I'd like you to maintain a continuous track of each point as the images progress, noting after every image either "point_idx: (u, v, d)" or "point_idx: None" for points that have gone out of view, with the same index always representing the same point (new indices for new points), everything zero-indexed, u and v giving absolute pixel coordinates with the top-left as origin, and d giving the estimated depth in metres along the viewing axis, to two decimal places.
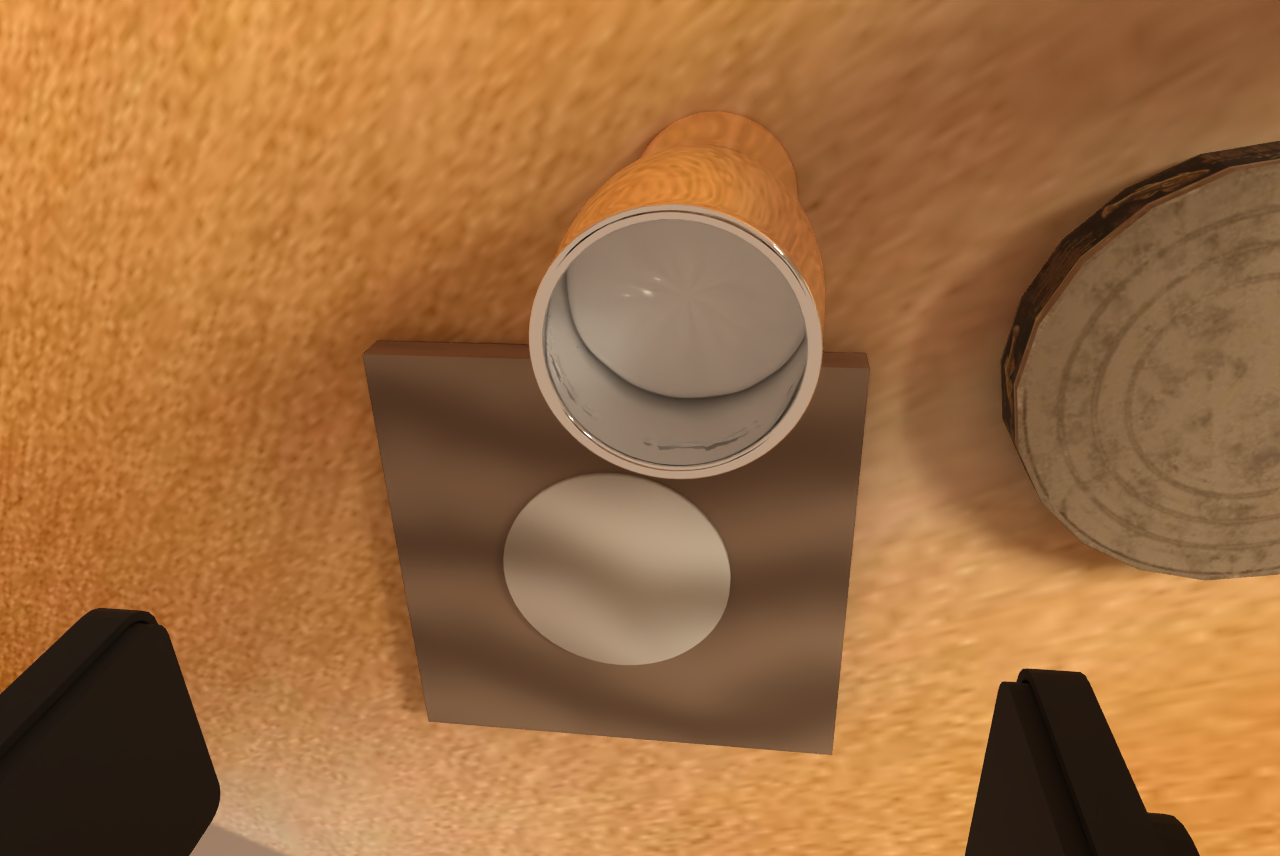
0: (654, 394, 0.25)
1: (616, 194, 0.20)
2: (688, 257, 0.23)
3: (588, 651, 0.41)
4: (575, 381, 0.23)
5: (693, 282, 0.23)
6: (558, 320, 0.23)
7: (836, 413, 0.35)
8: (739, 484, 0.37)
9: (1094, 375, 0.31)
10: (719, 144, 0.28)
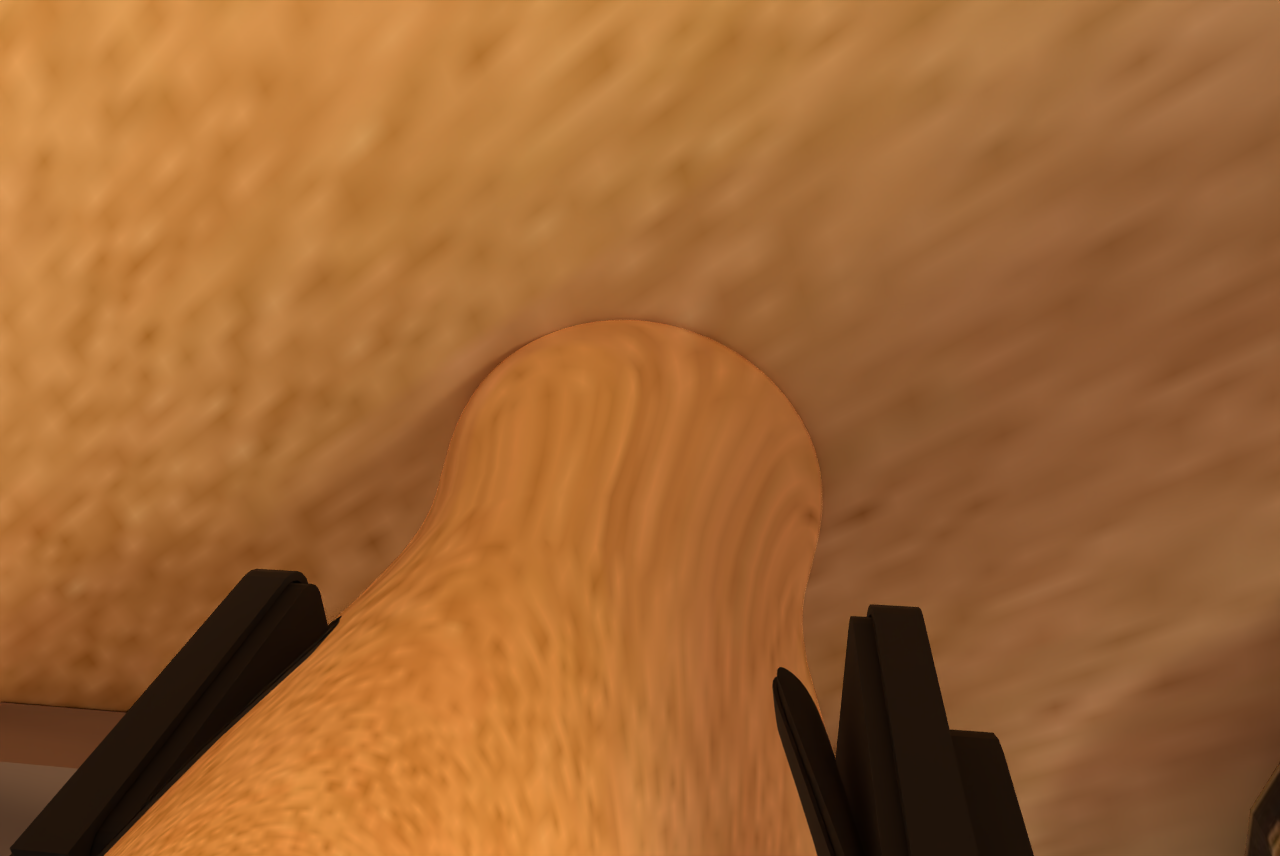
0: None
1: None
2: None
3: None
4: None
5: None
6: None
7: None
8: None
9: None
10: (609, 492, 0.10)
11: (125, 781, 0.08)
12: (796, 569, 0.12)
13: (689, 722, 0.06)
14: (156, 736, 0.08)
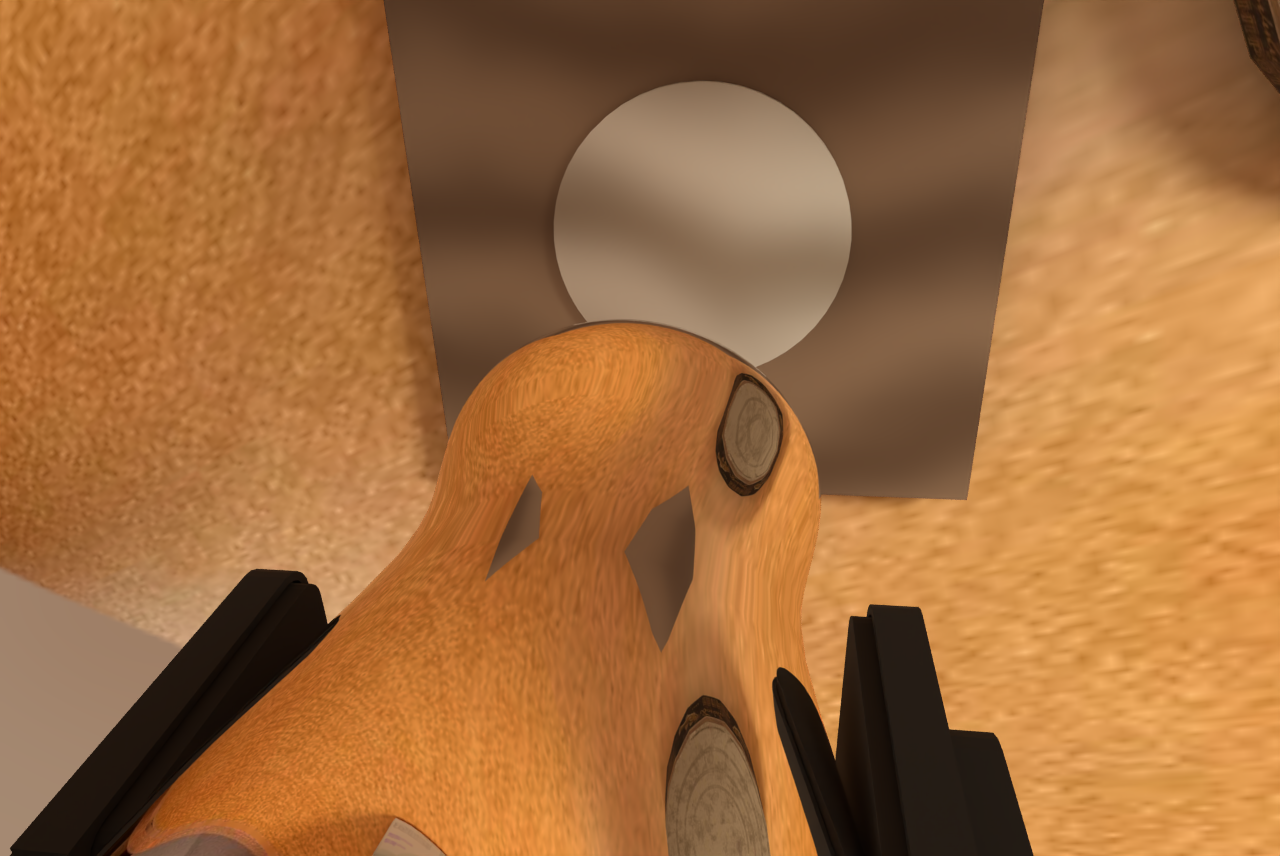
0: None
1: None
2: None
3: None
4: None
5: None
6: None
7: None
8: (870, 87, 0.28)
9: None
10: (608, 492, 0.10)
11: (126, 781, 0.08)
12: (795, 569, 0.11)
13: (689, 723, 0.06)
14: (157, 736, 0.08)
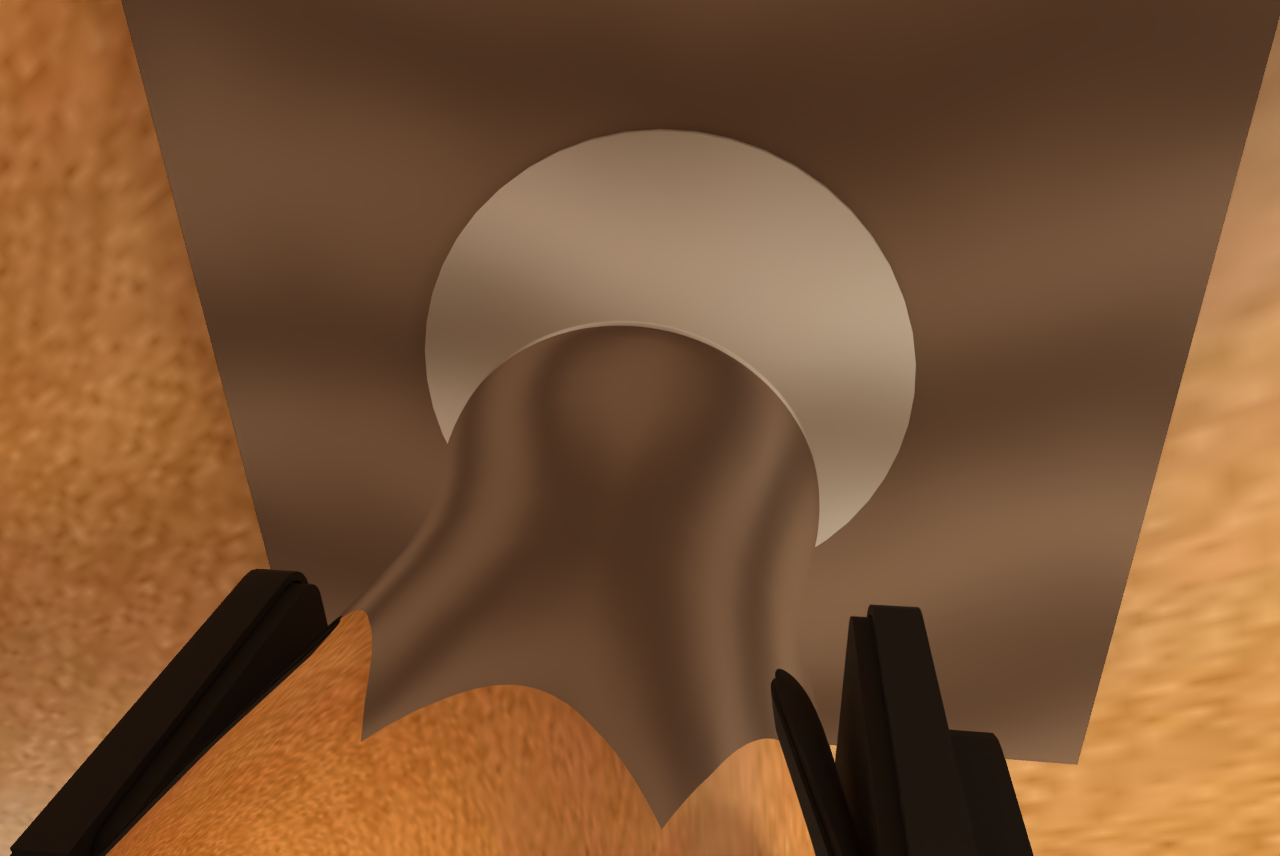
0: None
1: None
2: None
3: None
4: None
5: None
6: None
7: None
8: (956, 143, 0.16)
9: None
10: (607, 494, 0.10)
11: (125, 780, 0.08)
12: (795, 570, 0.11)
13: (688, 725, 0.06)
14: (156, 736, 0.08)
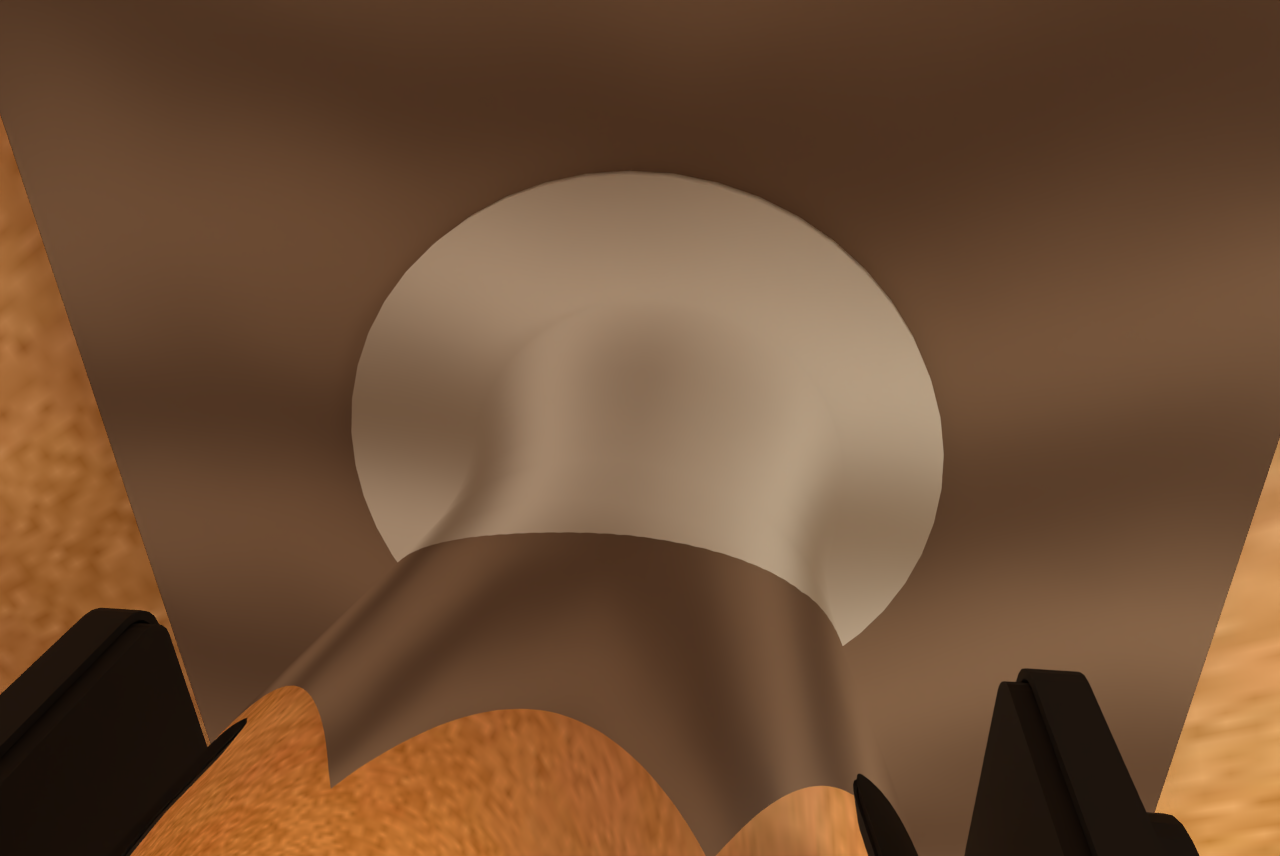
0: None
1: None
2: None
3: None
4: None
5: None
6: None
7: None
8: (997, 191, 0.13)
9: None
10: (643, 459, 0.10)
11: None
12: (821, 539, 0.12)
13: (734, 662, 0.07)
14: None
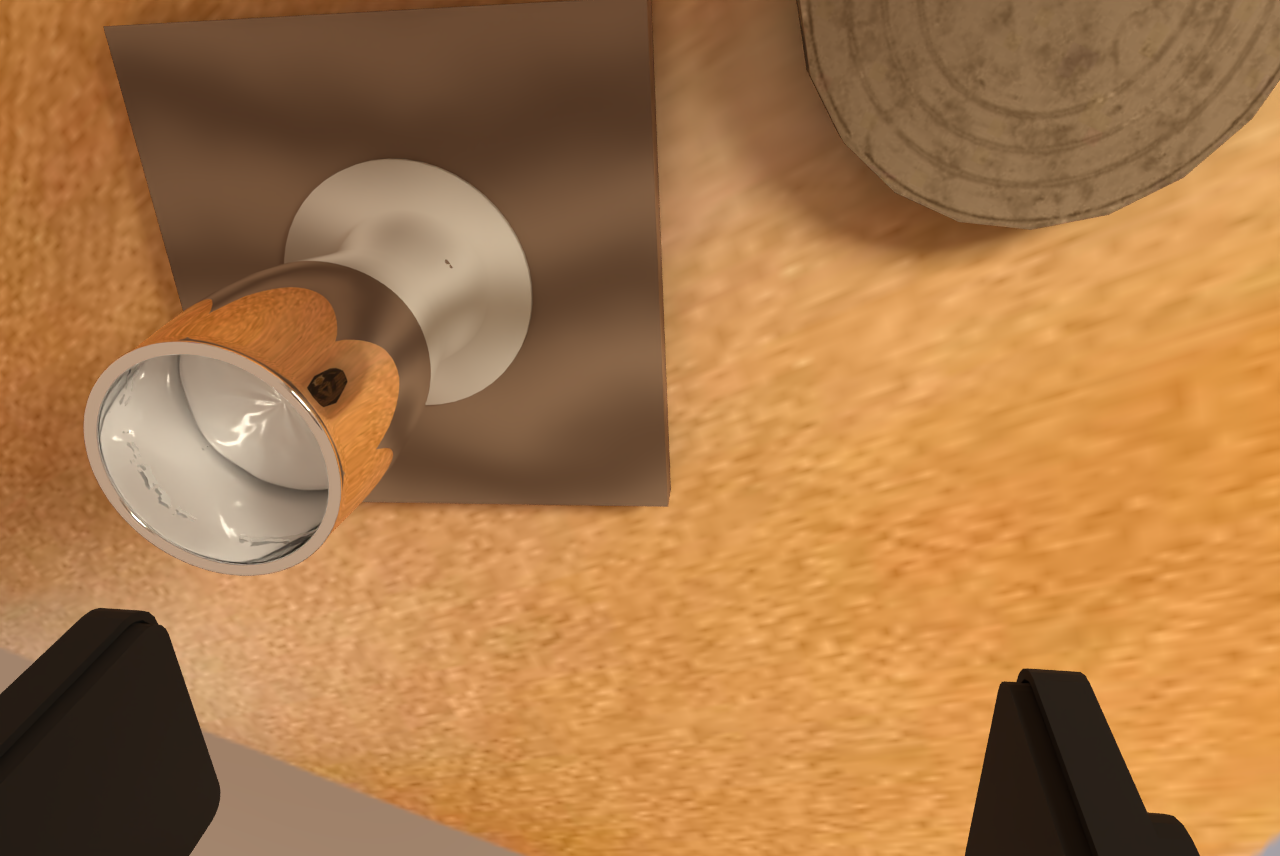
0: (286, 487, 0.28)
1: (164, 325, 0.23)
2: None
3: None
4: (177, 485, 0.25)
5: None
6: (165, 429, 0.25)
7: (618, 59, 0.31)
8: (526, 161, 0.33)
9: None
10: (369, 248, 0.30)
11: None
12: (450, 289, 0.32)
13: (362, 271, 0.27)
14: None
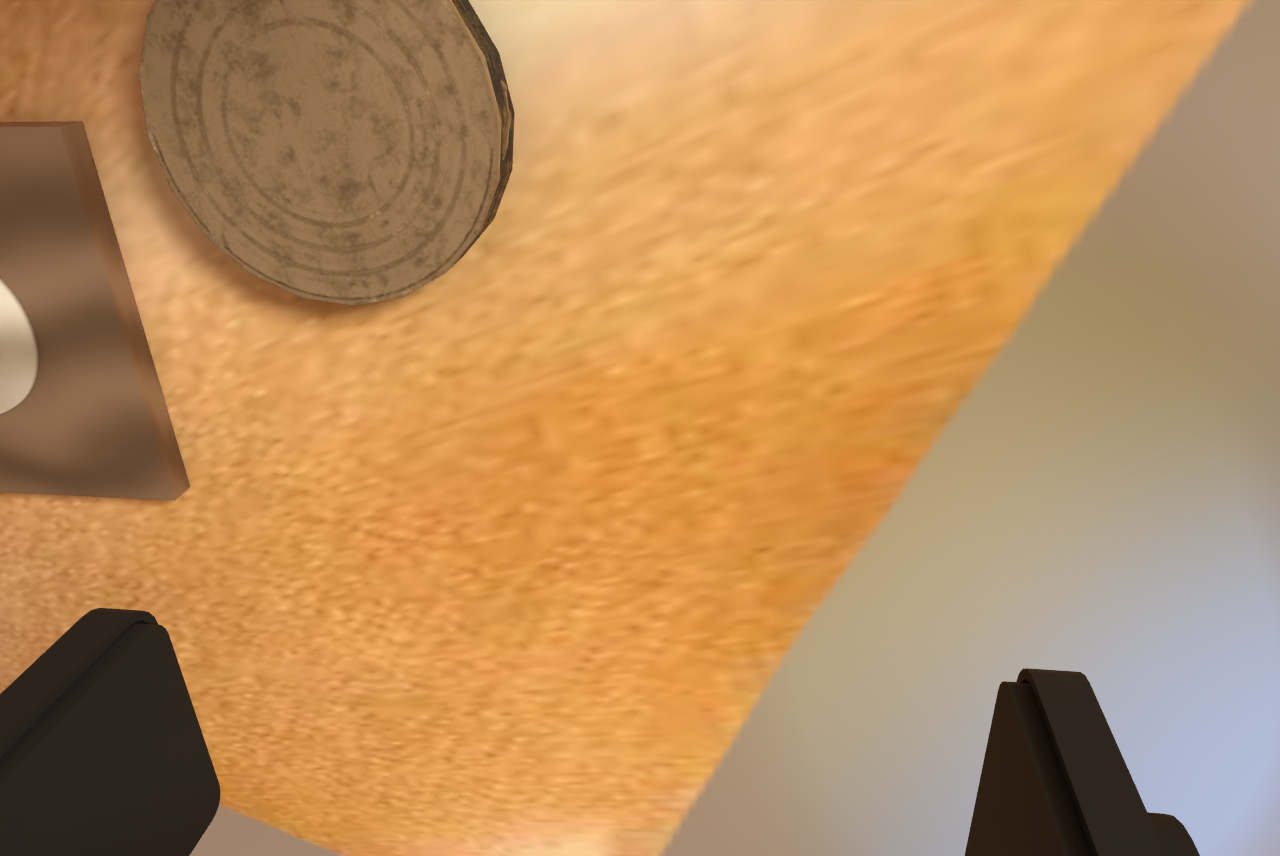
0: None
1: None
2: None
3: None
4: None
5: None
6: None
7: (51, 169, 0.42)
8: (6, 240, 0.44)
9: (196, 118, 0.39)
10: None
11: None
12: None
13: None
14: None
